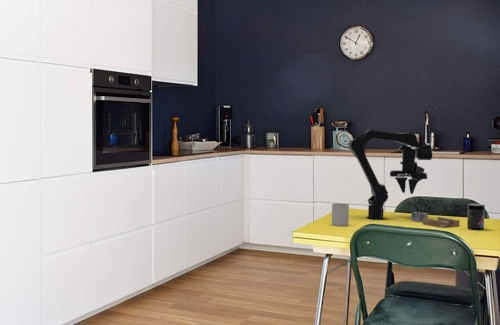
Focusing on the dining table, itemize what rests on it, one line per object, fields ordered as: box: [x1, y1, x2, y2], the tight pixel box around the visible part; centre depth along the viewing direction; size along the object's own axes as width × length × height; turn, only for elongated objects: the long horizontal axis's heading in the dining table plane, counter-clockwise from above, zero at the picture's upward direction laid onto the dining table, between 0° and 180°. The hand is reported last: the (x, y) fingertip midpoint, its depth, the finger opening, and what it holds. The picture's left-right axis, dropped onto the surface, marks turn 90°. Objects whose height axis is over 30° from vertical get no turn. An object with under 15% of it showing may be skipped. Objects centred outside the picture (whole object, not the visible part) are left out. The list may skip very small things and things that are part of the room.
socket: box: [411, 211, 429, 223], centre depth 286 cm, size 5×5×4 cm
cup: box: [331, 203, 350, 227], centre depth 273 cm, size 7×10×9 cm
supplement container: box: [466, 203, 486, 231], centre depth 265 cm, size 7×7×10 cm
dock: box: [422, 216, 460, 229], centre depth 275 cm, size 10×11×3 cm
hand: (407, 193), depth 293 cm, fingers open, 5 cm apart
